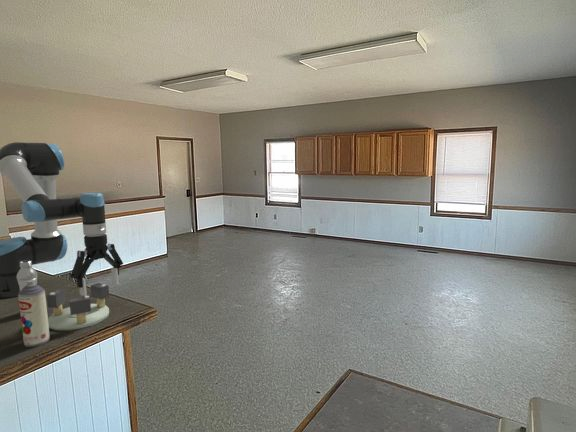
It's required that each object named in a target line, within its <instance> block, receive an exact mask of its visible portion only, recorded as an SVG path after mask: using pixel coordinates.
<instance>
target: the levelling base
mask: <svg viewBox="0 0 576 432" xmlns="http://www.w3.org/2000/svg"><path fill="white" fill-rule="evenodd" d="M90 305H91V311H90V312H86V323H84V324H77V316H76V314H74V315H71V312H70V306H68V307H65V308H63V314H62V315H60V316H54V312H53V313H51V315H49V316H48V324H49V329H51V330H53V331H73V330H80V329H85V328H89V327H91V326H94V325H98V324H99V323H101V322H102V321H104V320H106V319H107V318H108V317H109V315H110V308H109V306H107V305H106V304H105V307H102V308H97V303H90Z"/></svg>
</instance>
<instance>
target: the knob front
mask: <svg viewBox="0 0 576 432" xmlns="http://www.w3.org/2000/svg"><path fill="white" fill-rule="evenodd" d="M90 304H91V297H90V295H87V296H82V297H75V298H70V299H69V307H70V312H71V315H74V314H76V316H77V324H84V323H86V312H90V311H91V305H90Z"/></svg>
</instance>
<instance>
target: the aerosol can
mask: <svg viewBox="0 0 576 432" xmlns="http://www.w3.org/2000/svg"><path fill="white" fill-rule="evenodd" d="M17 297H18V304H19V305H18V306H19V312H20V322H21V323H20V324H21V330H22V331H21V333H22V340H23V346H24V347H26V348H34V347H40V346H43V345H44V344H47V343H48V342H49V341H50V340H51V335H50V328H49V324H48V317H49V316H48V304H47V295H46V291H45V288H44V287H42V286H41V285H38V283H37V284H35V283H34V280H30V281H27V285H26V286H25V287H24V288H23V289H22V290H21V291H20V292H19V295H18V296H17Z"/></svg>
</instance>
